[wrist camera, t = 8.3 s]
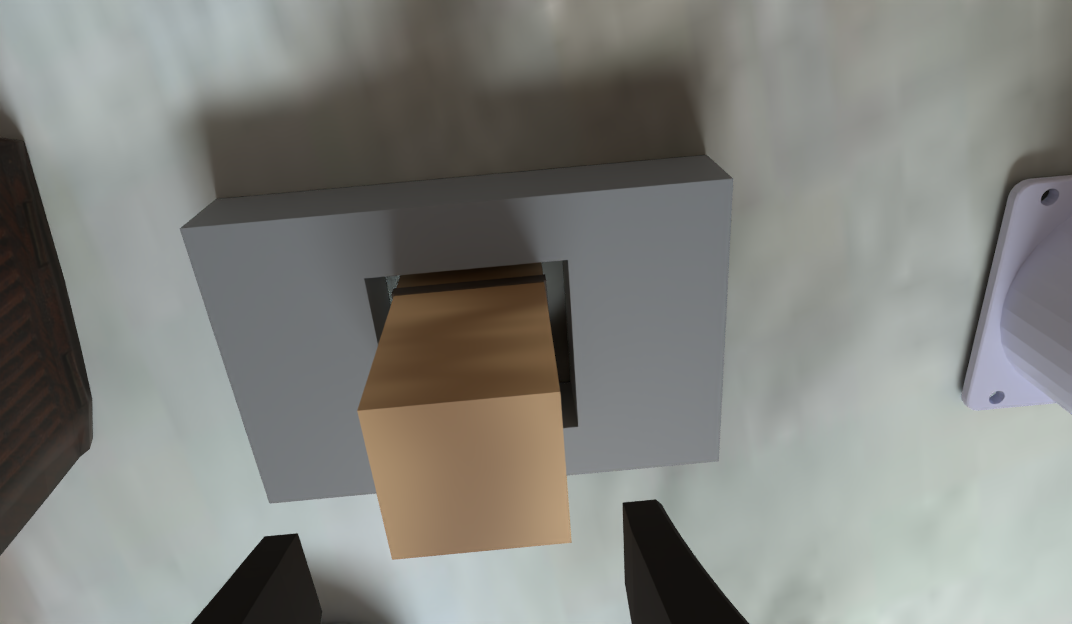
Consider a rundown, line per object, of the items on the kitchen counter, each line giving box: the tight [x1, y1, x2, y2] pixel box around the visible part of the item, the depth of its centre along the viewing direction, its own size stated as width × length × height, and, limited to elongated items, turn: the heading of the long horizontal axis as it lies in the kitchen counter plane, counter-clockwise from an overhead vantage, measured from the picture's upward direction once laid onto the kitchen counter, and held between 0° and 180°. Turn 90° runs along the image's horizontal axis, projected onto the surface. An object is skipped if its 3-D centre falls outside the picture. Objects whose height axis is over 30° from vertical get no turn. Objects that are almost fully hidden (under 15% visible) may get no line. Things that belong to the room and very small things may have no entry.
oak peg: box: [357, 262, 572, 560], centre depth 18 cm, size 4×4×8 cm
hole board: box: [180, 155, 733, 503], centre depth 20 cm, size 14×9×2 cm, turn 94°
